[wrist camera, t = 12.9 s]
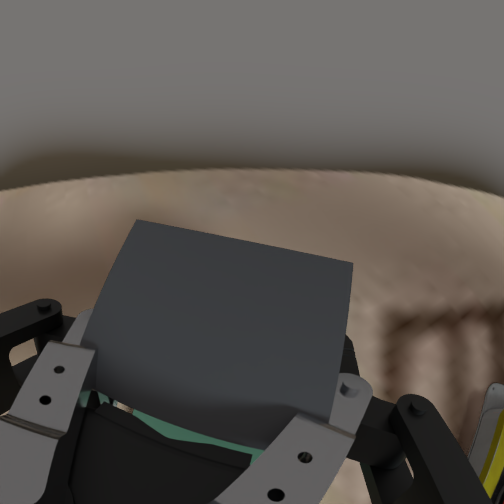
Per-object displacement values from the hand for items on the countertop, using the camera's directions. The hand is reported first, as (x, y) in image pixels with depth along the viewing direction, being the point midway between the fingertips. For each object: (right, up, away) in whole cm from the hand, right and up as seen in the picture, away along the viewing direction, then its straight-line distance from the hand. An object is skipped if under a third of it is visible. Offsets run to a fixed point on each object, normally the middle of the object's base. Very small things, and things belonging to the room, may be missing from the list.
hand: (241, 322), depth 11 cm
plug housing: (0, -4, +3) cm, 5 cm away
